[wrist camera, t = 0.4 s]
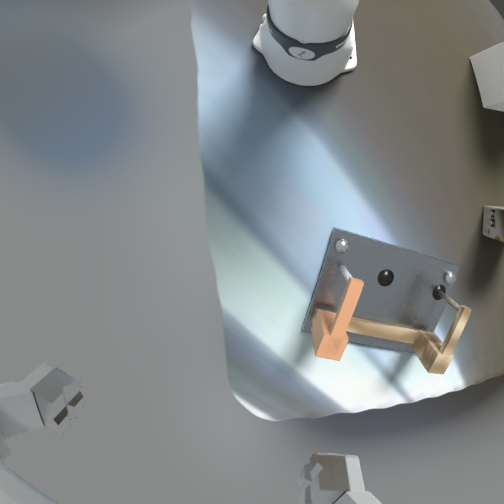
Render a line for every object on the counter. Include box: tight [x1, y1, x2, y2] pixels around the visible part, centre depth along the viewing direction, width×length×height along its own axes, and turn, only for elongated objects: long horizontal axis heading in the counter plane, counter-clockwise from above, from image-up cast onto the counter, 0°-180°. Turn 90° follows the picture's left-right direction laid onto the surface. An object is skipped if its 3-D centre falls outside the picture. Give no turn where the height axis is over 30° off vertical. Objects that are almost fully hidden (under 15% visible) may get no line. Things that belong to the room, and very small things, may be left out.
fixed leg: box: [312, 291, 472, 374], centre depth 45 cm, size 13×26×11 cm, turn 77°
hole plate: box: [302, 227, 460, 353], centre depth 50 cm, size 20×28×2 cm
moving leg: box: [311, 265, 364, 361], centre depth 45 cm, size 13×4×10 cm, turn 167°
